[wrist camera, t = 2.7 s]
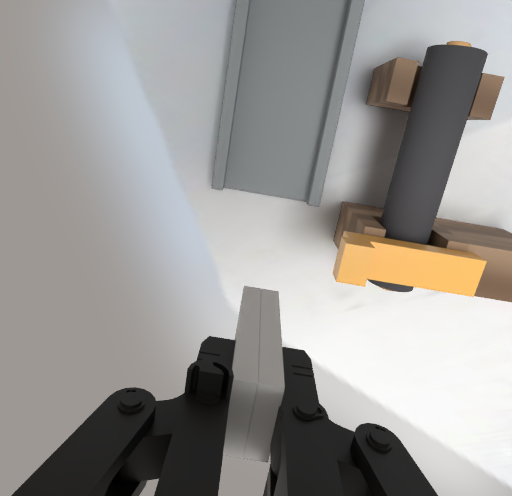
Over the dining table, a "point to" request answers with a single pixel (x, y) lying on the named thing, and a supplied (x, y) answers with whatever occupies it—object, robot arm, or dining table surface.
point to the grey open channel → (284, 95)
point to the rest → (405, 83)
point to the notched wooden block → (447, 244)
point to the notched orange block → (406, 264)
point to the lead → (430, 143)
